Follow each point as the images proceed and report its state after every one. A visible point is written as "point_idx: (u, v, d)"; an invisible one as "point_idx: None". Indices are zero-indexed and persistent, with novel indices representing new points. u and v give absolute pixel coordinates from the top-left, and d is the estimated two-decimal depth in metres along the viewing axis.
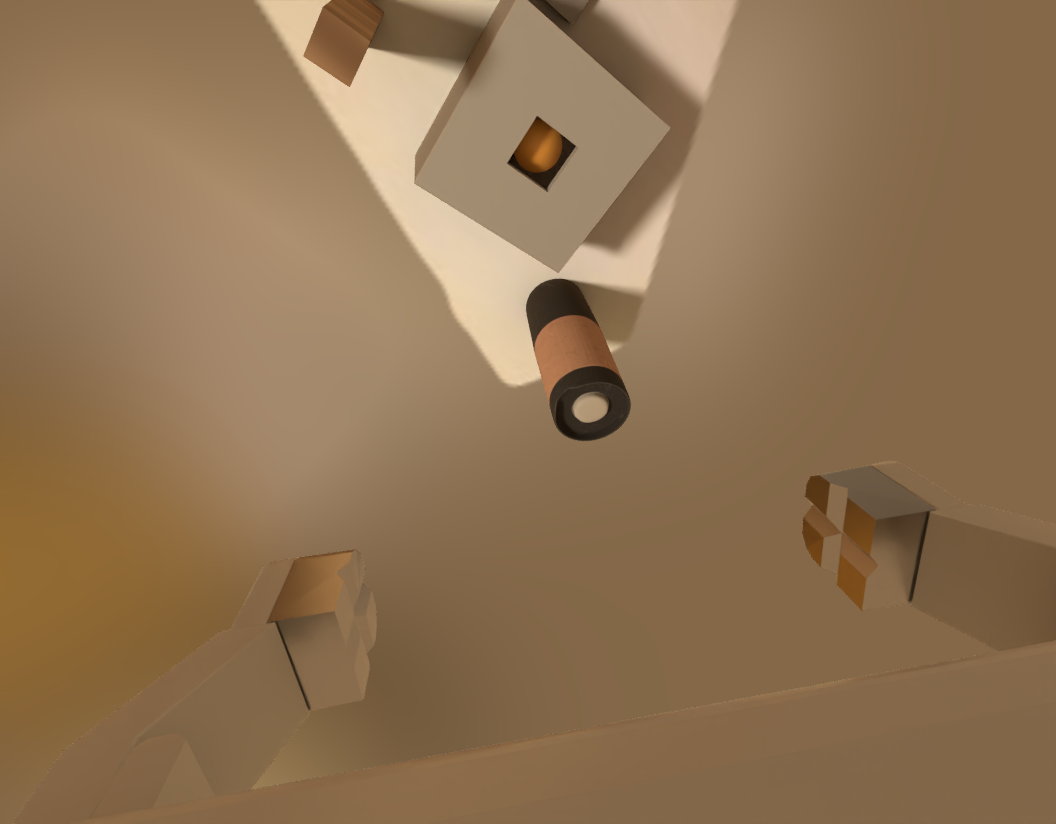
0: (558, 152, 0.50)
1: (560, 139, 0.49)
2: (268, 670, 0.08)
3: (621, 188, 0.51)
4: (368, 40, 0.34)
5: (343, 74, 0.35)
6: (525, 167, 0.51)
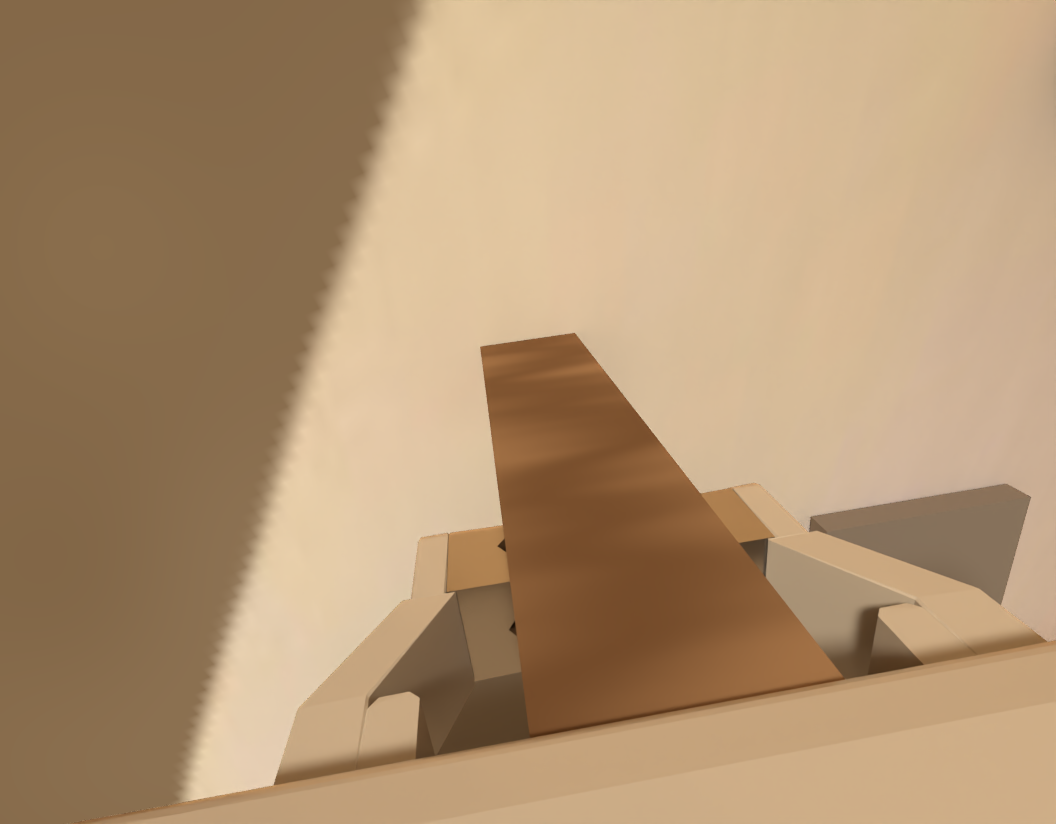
0: None
1: None
2: (450, 638, 0.08)
3: None
4: None
5: None
6: None
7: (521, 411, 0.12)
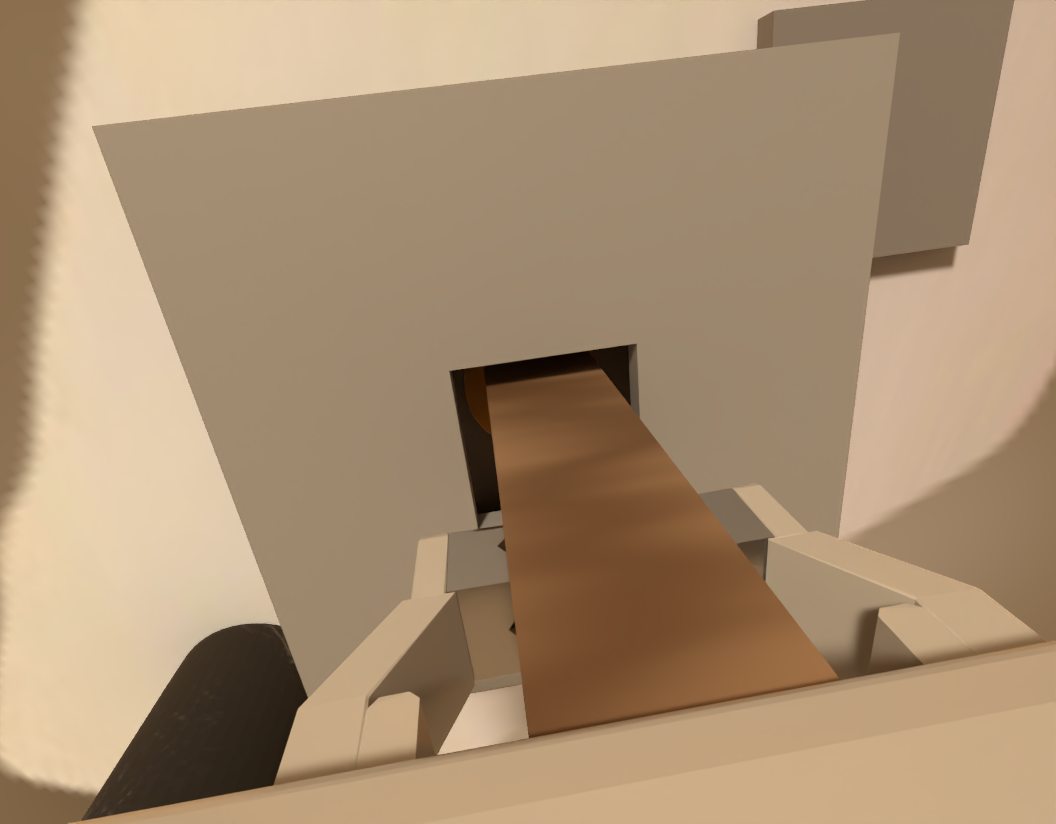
0: None
1: None
2: (450, 638, 0.08)
3: None
4: None
5: None
6: (470, 396, 0.18)
7: (522, 413, 0.12)
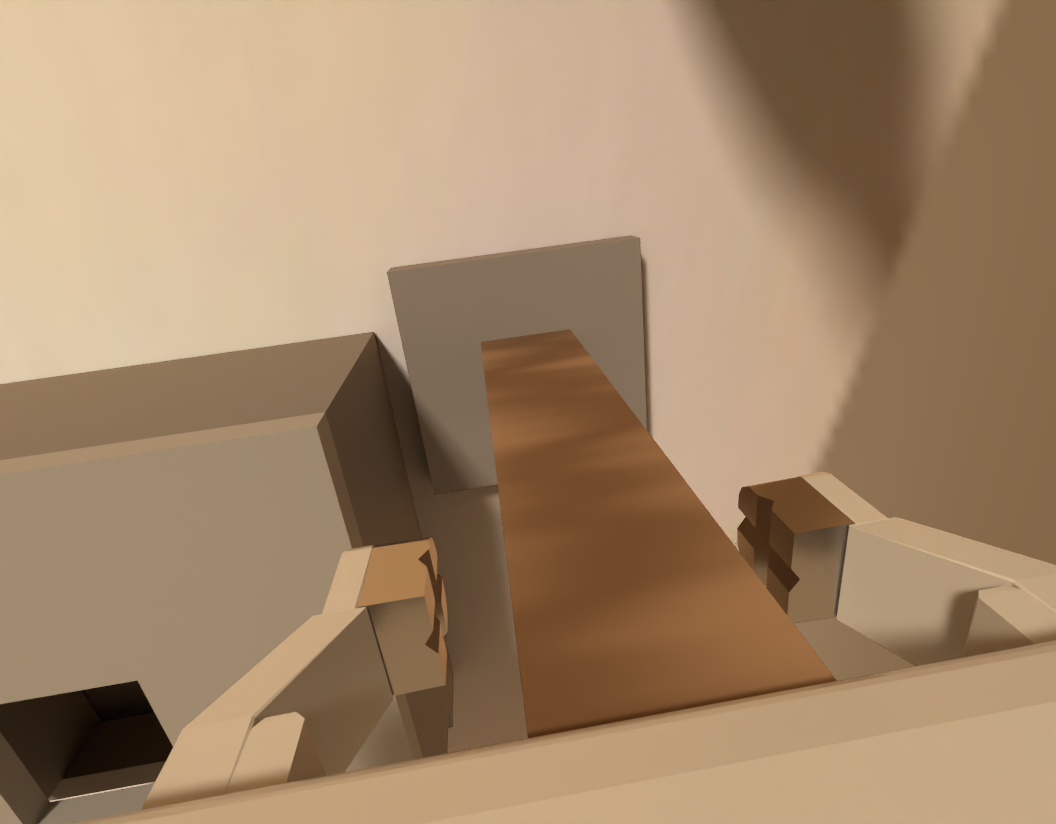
0: None
1: None
2: (360, 654, 0.08)
3: None
4: None
5: None
6: None
7: (517, 400, 0.13)
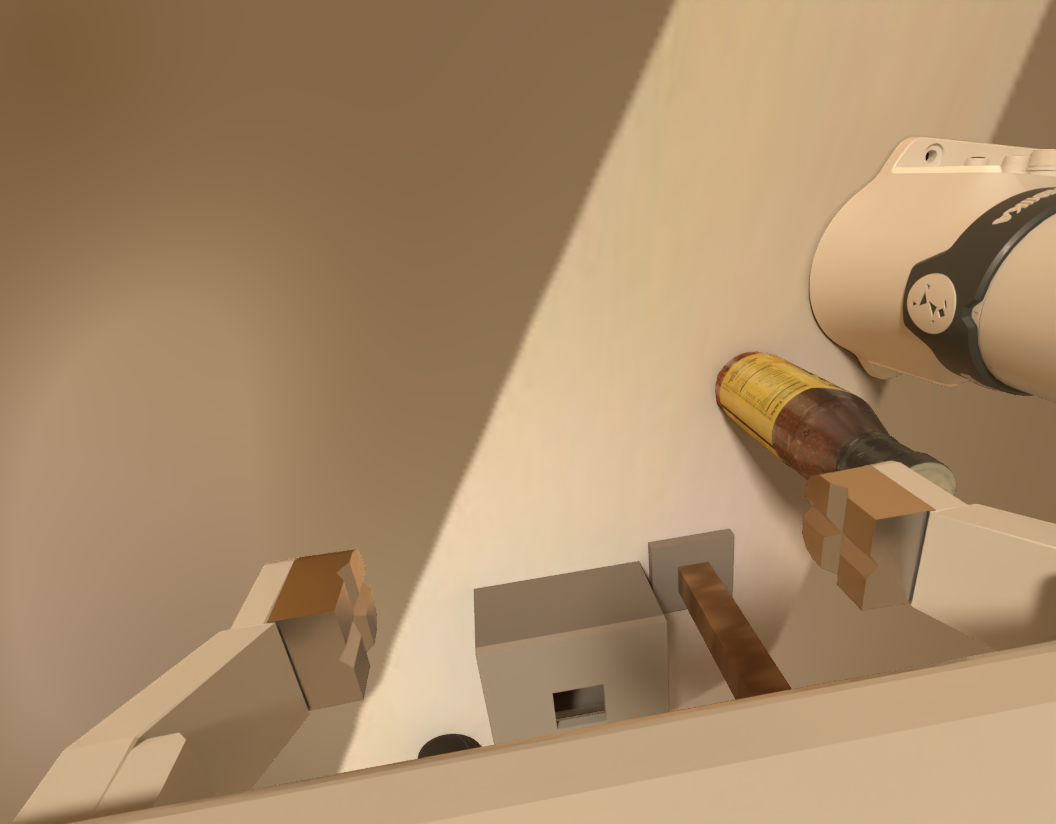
0: None
1: None
2: (268, 670, 0.08)
3: None
4: None
5: None
6: None
7: (709, 607, 0.48)
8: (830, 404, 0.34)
